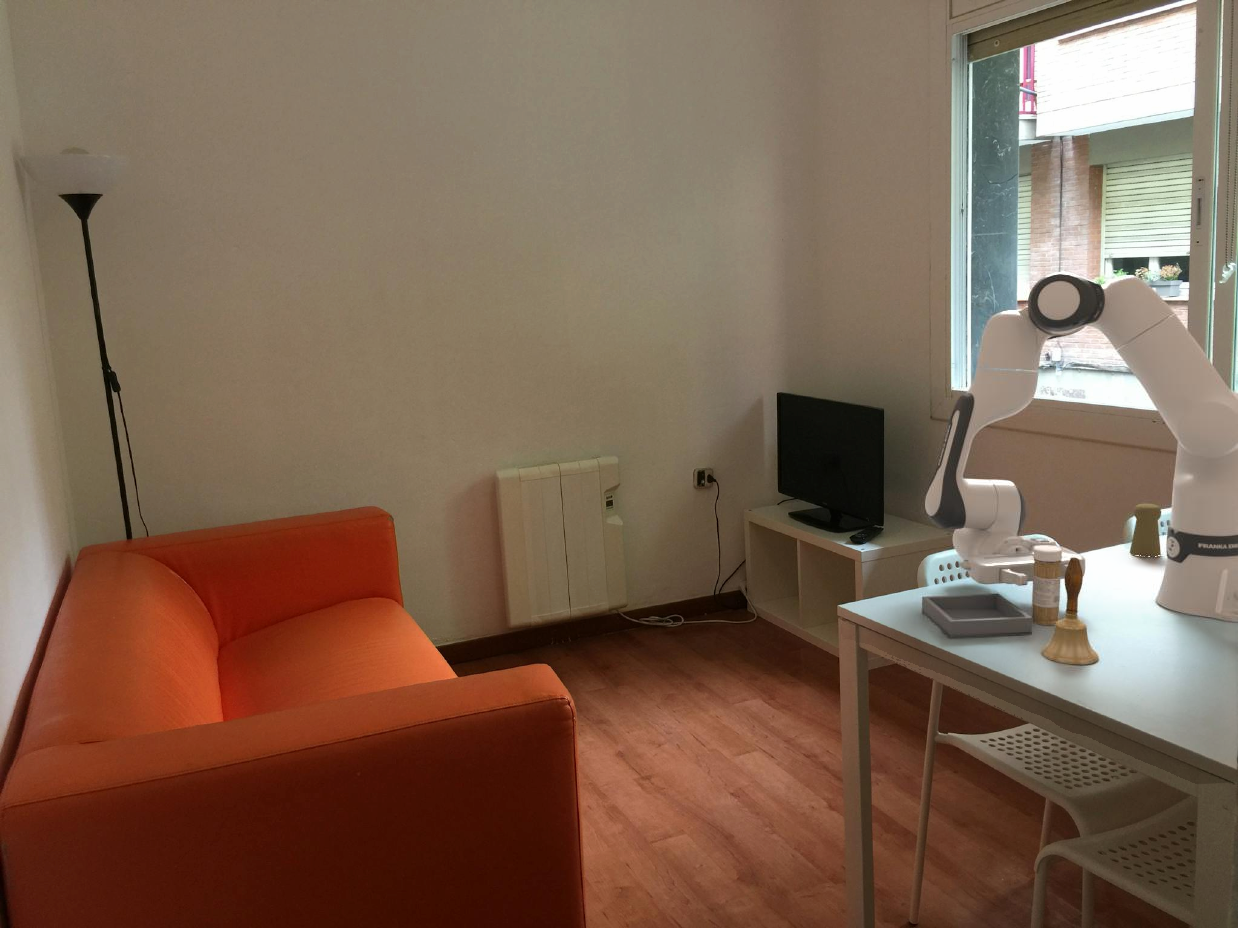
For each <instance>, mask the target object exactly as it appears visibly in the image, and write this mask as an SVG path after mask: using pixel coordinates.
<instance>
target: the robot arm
mask: <svg viewBox="0 0 1238 928" xmlns="http://www.w3.org/2000/svg"><path fill="white" fill-rule="evenodd" d="M1085 327H1093V328H1095V329H1097V330H1098V331H1100V332H1101V334H1103V335H1104V336H1105V337H1106V338H1107V340H1108V341H1109V342H1110V344H1111V345H1112V346H1113V348H1114V350H1116V352H1117V353H1118V355H1119V356H1120V357H1121V359H1122V360H1123V361H1124V363H1125V364H1126V365H1127V366H1128V368H1129V369H1130V370H1131V372H1132V373H1133V375H1134V376H1135V377H1136V379H1137V380H1138V381H1139V383H1140V384H1141V386H1142V388H1143V389H1144V391H1145V392H1146V393H1147V395H1148V397H1149V399H1150V400H1151V402H1152V404H1153V405H1154V407H1155V408H1156V410H1157V411H1158V413H1159V415H1160V417H1161V418H1162V419H1163V421H1164V423H1165V424H1166V425H1167V427H1168V429H1170V431H1171V433H1172V435H1173V436H1174V437H1175V439H1176V440H1177V447H1176V457H1175V465H1174V474H1173V482H1172V496H1171V498H1172V499H1171V512H1170V513H1171V515H1170V525H1168V526H1167V530H1166V531H1167V533H1166V547H1165V548H1166V550H1165V551H1166V557H1167V558H1166V564H1165V567H1164V573H1163V577H1162V581H1161V585H1160V587H1159V590H1158V593H1157V596H1156V598H1155V601H1156V603H1157V604H1159V605H1160V606H1162V607H1164V608H1167V609H1168V610H1172V611H1174V612H1175V611H1176V612H1178V613H1183V614H1188V615H1193V616H1201V617H1208V618H1214V619H1218V620H1222V621H1227V622H1238V392H1236V391H1234V390H1232V389H1230V388H1229V386H1228V385H1227V384H1226V382H1225V381H1224V380H1223V378H1222V376H1221V375H1220V374H1219V372H1218V371H1217V369H1216V368H1215V366H1214V365H1213V364H1212V362H1211V361H1210V359H1209V358H1208V356H1207V354H1206V352H1205V351H1204V350H1203V348H1202V347H1201V346H1200V344H1199V343H1198V341H1196V339H1195V337H1193V335H1192V334H1191V332H1189V330H1188V329H1187V327H1186V326H1185V325H1184V324H1183V322H1182V321H1181V320H1180V318H1179V317H1178V316H1177V315H1176V313H1175V311H1173V309H1172V308H1171V307H1170V306H1169V304H1168V303H1167V302H1166V301H1165V300H1164V299H1163V298H1162V296H1160V294H1158V292H1157V291H1156V290H1154V288H1152V287H1151V286H1150V285H1149V284H1148V283H1147V282H1145V280H1143V279H1142V278H1141V277H1139V276H1136V275H1132V274H1128V275H1122V276H1118V277H1115V278H1113V279H1111V280H1109V281H1107V282H1106V283H1103V284H1100V283H1098V282H1096V281H1093V280H1091V279H1088V278H1087V277H1084V276H1082V275H1079V274H1076V273H1073V272H1067V271H1057V272H1052V273H1049V274H1047V275H1045V276H1043V277H1041V279H1039V280H1037V282H1036V283H1035V284H1034V285H1033V287H1032V288H1031V290H1030V292H1029V295H1028V299H1027V305H1026V306H1025V307H1023V308H1022V309H1018V310H1013V309H1011V310H1004V311H1000V312H997V313H996V314H993V315H992V316H991V317H990V318H989V319H988V321H987V323H986V324H985V327H984V331H983V333H982V337H981V342H980V345H979V351H978V355H977V362H976V363H977V364H976V370H975V374H974V375H975V376H974V377H973V381H972V383H971V385H970V387H969V388H968V390H967V392H966V393H965V394H962V395H960V396H959V397H958V398H957V400H956V402H955V404H954V406H953V409H952V410H951V415H950V417H949V421H948V423H947V424H948V425H947V427H946V432H945V434H944V439H943V442H942V445H941V450H940V452H939V456H938V460H937V463H936V466H935V467H936V468H935V470H934V474H933V476H932V479H931V481H930V483H929V485H928V488H927V491H926V492H925V493H926V494H925V497H924V512H925V514H926V516H927V517H928V518H929V520H930V521H931V522H932V523H933V524H934V525H935V526H936V527H938V528H939V529H941V530H944V531H946V530H947V531H948V530H954V532H953V535H952V544H953V548H954V550H955V552H956V553H957V555H958V556H959V557H960V559H962V560H963V561H960V563H959V566H960V568H961V569H963V570H965V571H967V572H968V576H969V577H970V578H971V579H972V580H973V581H975V582H976V583H978V584H980V585H985V586H986V585H998V584H1006V585H1013V584H1014V585H1016V586H1018V587H1023V586H1027V585H1028V584H1029V583H1028V582H1033V575H1034V574H1033V573H1034V558H1033V549H1034V547H1036V546H1040V545H1050V546H1056V547H1059V548H1061V549H1062V560H1061V563H1060V580H1065V572H1066V568H1067V566H1068V564H1069V561H1070V558H1072V557H1075V558H1079V561H1080V565H1081V568H1082V573H1083V577H1085V573H1086V559H1085V557H1084V556H1083V555H1081V554H1080V553H1078V552H1075V551H1073V550H1071V549H1069V548H1066V547H1064V546H1060V545H1057V544H1056V541H1055V540H1052V539H1045V538H1044V539H1043V538H1028V537H1024V536H1020V533H1021V531H1022V529H1023V528H1024V526H1025V520H1026V517H1027V502H1026V501H1027V500H1026V498H1025V497H1024V495H1023V492H1022V491H1021V489H1020V488H1019V486H1018V485H1017V484H1016V483H1015V482H1013V481H1012V480H1008V479H1007V480H1006V479H989V478H984V479H982V478H981V479H980V478H978V479H977V478H965V477H964V472H965V468H966V466H967V465H966V464H967V461H968V457H969V454H970V451H971V447H972V443H973V440H974V437H976V435H977V433H978V432H979V431H980V430H981V429H983V428H984V427H986V426H989V425H990V424H992V423H994V422H998V421H1000V420H1003V419H1007V418H1010V417H1012V416H1014V415H1016V414H1018V413H1020V412H1021V411H1022V410H1024V409H1025V408H1027V407H1028V405H1029V404H1030V403H1032V401H1033V400H1034V398H1035V394H1036V392H1037V388H1038V379H1039V369H1040V360H1041V354H1042V349H1043V347H1044V344H1045V343H1046V342H1047V341H1048V340H1052V339H1057V338H1062V337H1068V336H1071V335H1073V334H1076V333H1078V332H1080V331H1081V330H1083V329H1084V328H1085Z"/></svg>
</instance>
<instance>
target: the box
mask: <svg viewBox="0 0 1238 928" xmlns="http://www.w3.org/2000/svg"><path fill="white" fill-rule="evenodd" d="M921 613H922V614H923V615H924V616H925V617H926V618H927V619H928V618H929V619H930V620H929V619H928V620H929V621H931V622H932V623H933V624H934V625H935V626H936V627H937V629H939V630H940V631H941V632H942V633H943V634H945V635H946V636H947V638H948V639H950V640H952V639H953V640H954V639H974V638H993V637H995V638H996V637H998V638H999V637H1016V636H1019V637H1020V636H1033V627H1034V626H1033V623H1034V622H1033V618H1032V615H1031V616H1030V615H1029V614H1028V613H1026V612H1025V611H1024V610H1022V609H1021V608H1020V607H1018V606H1017V605H1015V604H1014V603H1012V602H1011V601H1010V600H1009V599H1007V598H1005V597H1004V596H1002V595H1001V594H999V593H997V592H996V593H977V594H976V593H975V594H955V595H953V594H951V595H937V596H936V595H934V596H933V595H931V596H922V597H921Z"/></svg>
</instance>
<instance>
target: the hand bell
mask: <svg viewBox="0 0 1238 928" xmlns="http://www.w3.org/2000/svg"><path fill="white" fill-rule="evenodd" d="M1083 577H1084V576H1083V573H1082V568H1081V565H1080V561H1079V558H1075V557H1072V558H1070V561H1069V564H1068V566H1067V568H1066V572H1065V579H1064V587H1065V592H1066V609H1065V617H1064V618H1062V619H1059V620H1058V621H1057V622H1056V624H1055V625H1054V632H1053V635H1052V637H1051V639H1050V641H1049V642H1048V644H1046V645H1045V646H1044V647H1043V648H1042V649H1041V655H1042V656H1043V657H1044V658H1046V659H1048V660H1051V661H1053V662H1057V663H1060V664H1066V665H1078V666H1079V665H1083V666H1084V665H1090V664H1091V665H1092V664H1094V663H1096V662H1098V661H1099V659H1100V656H1099V654H1098V653H1097V651H1095V650H1094V648H1093V647H1092V646H1091V644H1090V640H1089V635H1088V631H1087V624H1086V623H1085V622H1084V621H1081V620H1079V618H1078V611H1079V610H1078V608H1079V607H1078V603H1079V602H1078V599H1079V595H1080V593H1081V589H1082V586H1083V581H1084V580H1083V579H1084V578H1083Z"/></svg>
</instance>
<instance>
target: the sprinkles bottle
mask: <svg viewBox="0 0 1238 928" xmlns="http://www.w3.org/2000/svg"><path fill="white" fill-rule="evenodd" d="M1056 546H1057V545H1056ZM1056 546H1050V545H1040V546H1036V547H1034V549H1033V558H1034V573H1033V574H1034V575H1033V581H1032V593H1031V606H1032V607H1031V617H1032V618H1033V623H1034V624H1037V625H1041V626H1055V624H1056V622H1057V621H1058V620H1060V619H1059V615H1060V614H1059V609H1060V608H1059V607H1060V601H1061V599H1060V598H1061V597H1060V595H1061V579H1060V563H1061V560H1062V549H1061V548H1059V547H1056Z"/></svg>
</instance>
